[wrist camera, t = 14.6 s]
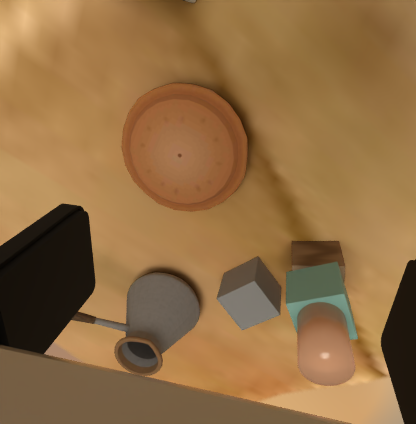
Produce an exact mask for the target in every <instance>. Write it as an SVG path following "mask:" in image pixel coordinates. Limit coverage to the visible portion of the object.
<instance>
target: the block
mask: <svg viewBox="0 0 416 424" xmlns="http://www.w3.org/2000/svg"><path fill="white" fill-rule="evenodd" d="M217 300H218V301H219V302H220V304H221V305H222V306H223V307H224V309H225V310H226V311H227V312H228V314H229V315H230V316H231V317H232V319H233V320H234V321H235V322H236V324H237V325H238V326H239V327H240V328H241V330H244V329H247V328H249V327H252V326H254V325H257V324H259V323H262V322H264V321H266V320H269V319H271V318H274V317H276V316H279V315H280V306H281V286H280V285H279V284H278V282H277V281H276V280H275V278H274V277H273V275H272V274H271V273H270V271H269V270H268V269H267V267H266V266H265V265H264V263H263V262H262V261H261V259H260V258H259V257H256V258H254V259H252V260H250V261H248V262H246V263H244V264H242V265H240V266H238V267H236V268H234V269H232V270H230V271H228V272H226V273H224V275H223V279H222V282H221V285H220V289H219V292H218V296H217Z"/></svg>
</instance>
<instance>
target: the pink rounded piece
mask: <svg viewBox="0 0 416 424" xmlns="http://www.w3.org/2000/svg"><path fill="white" fill-rule="evenodd" d="M297 344H298V368H299V370H300V372H301V374H302V375H303V376H304V377H305V378H306V379H308V380H309V381H311V382H313V383H316V384H319V385H324V386H334V385H339V384H342V383H345V382H346V381H348V380H349V379H350V378H351V377H352V376H353V375H354V372H355V362H354V357H353V352H352V347H351V342H350V337H349V331H348V326H347V321H346V317H345V315H344V313H343V312H342V311H341V309H339V308H338V307H337V306H335V305H333V304H330V303H326V302H315V303H311V304H308V305H306V306H305V307H303V308H302V309H301V310H300V312H299V313H298V316H297Z"/></svg>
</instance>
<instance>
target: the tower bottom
mask: <svg viewBox="0 0 416 424" xmlns="http://www.w3.org/2000/svg"><path fill="white" fill-rule="evenodd" d="M332 262H338V265H339V269H340V272H341V275H342V279H343V282H344V279H345V264H344V260H343V256H342V252H341V248H340V244H339V241H292V271H294V270H299V269H304V268H308V267H313V266H318V265H323V264H328V263H332Z"/></svg>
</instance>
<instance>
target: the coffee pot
mask: <svg viewBox="0 0 416 424" xmlns="http://www.w3.org/2000/svg"><path fill="white" fill-rule="evenodd" d="M199 315H200V307H199V302H198V299H197V296H196V294H195V292H194V291H193V290H192V288H191V287H190V286H189V285H188V284H187V283H186V282H184V281H183V280H182V279H180V278H178V277H176V276H174V275H171V274H167V273H157V272H156V273H151V274H147V275H144V276H142V277H140V278H139V279H137V280H136V281H135V282H134V283H133V284H132V285H131V287H130V289H129V291H128V294H127V313H126V324H123V323H118V322H114V321H109V320H105V319H100V318H96V317H94V316H91V315H88V314H84V313H81V312H77V313H76V314H75V315H74V317H73V318H72V319H71V320H75V321H81V322H86V323H92V324H98V325H102V326H106V327H109V328H113V329H117V330H121V331H125V332H126V337H125V338H122V339H121V340H119V341H118V342H117V344H116V346H115V352H114V353H115V357H116V359H117V361H118V362H119V363H120V365H121V366H122V367H123V368H125V369H126V370H128V371H129V372H131V373H134V374H137V375H142V376H148V375H152V374H155V373H156V372H158V371H159V370H160V368H161V367H162V362H163V360H162V355H161V354H162V353H164V352H165V351H166V350H167V349H168V348H170V347H171V346H172V345H173V344H174V343H176V342H177V341H178V340H179V339H181V338H182V337H183V336H184V335H185V334H187V333H188V332H189V331H190V330H191V329H193V328H194V326H195V325H196V323H197V322H198V320H199Z"/></svg>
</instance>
